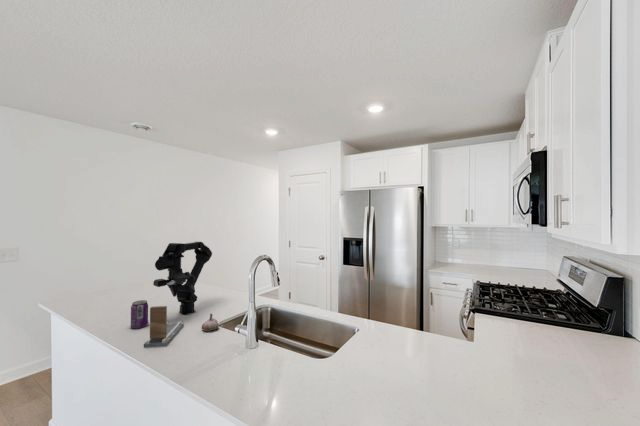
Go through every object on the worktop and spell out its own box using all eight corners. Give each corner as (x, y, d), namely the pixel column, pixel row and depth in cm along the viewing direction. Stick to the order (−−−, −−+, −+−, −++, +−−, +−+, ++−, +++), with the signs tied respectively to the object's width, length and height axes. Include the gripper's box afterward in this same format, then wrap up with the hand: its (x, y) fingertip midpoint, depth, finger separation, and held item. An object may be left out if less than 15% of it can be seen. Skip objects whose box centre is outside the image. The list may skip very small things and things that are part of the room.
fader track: (164, 327, 132) (164, 322, 132) (183, 326, 133) (183, 321, 133) (143, 347, 112) (143, 341, 112) (166, 346, 114) (167, 340, 114)
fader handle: (152, 338, 117) (153, 305, 117) (167, 337, 118) (167, 305, 118) (148, 342, 113) (148, 308, 113) (163, 341, 114) (164, 308, 114)
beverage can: (151, 323, 136) (151, 300, 136) (140, 329, 129) (140, 304, 129) (138, 323, 137) (138, 299, 137) (126, 329, 130) (127, 304, 130)
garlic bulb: (221, 328, 132) (222, 312, 132) (210, 334, 125) (210, 317, 125) (210, 325, 135) (210, 309, 135) (198, 331, 128) (198, 314, 128)
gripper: (163, 271, 131) (162, 303, 130) (199, 266, 146) (199, 295, 145) (153, 268, 137) (152, 299, 137) (189, 263, 152) (188, 291, 152)
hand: (174, 296), depth 143 cm, fingers closed
